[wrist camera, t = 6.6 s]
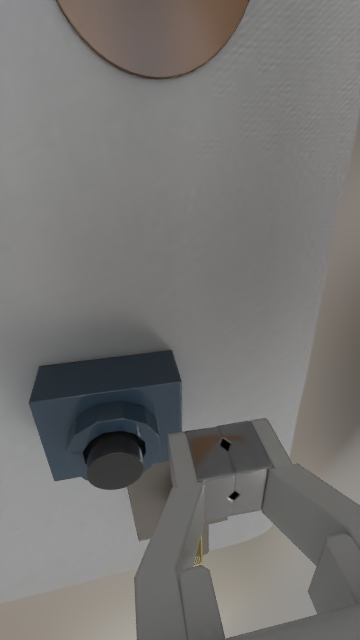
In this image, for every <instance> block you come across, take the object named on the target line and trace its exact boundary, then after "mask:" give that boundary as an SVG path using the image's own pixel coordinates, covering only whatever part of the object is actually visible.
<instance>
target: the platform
mask: <svg viewBox="0 0 360 640" xmlns="http://www.w3.org/2000/svg"><path fill="white" fill-rule="evenodd" d="M127 487H128V492H129V497H130V501H131V506H132V511H133V515H134V520H135V525H136V529H137V534H138V539H139V541H141V540H145V539H150V538H151V537H152V534H153V532H154V530H155V527H156V525H157V523H158V520H159V518H160V515H161V513H162V511H163V508H164V506H165V503H166V501H167V499H168V496H169V494H170V491H171V489H172V487H173V485H172V479H171V472H170V463H169V461H166V462H161V463H155V464H153V465H152V466H151V468H149V469H148V470H146V471H144V472H143V473H142V475H141V477H140V478H139V479H138V480H137V481H136V482H134V483H133V484H131V485H129V486H127ZM225 520H227V517H223V518H219V519H215V520H211V521H207V522H204V527H203V530H202V534H201V538H200V542H199V545H198V549H197V553H196V557H197V556H200V561H201V563H200V562H199V563H198V562H197V564H194V565H198V564H202V563H203V559H202V555H204V554H207V553H208V552H209V543H208V524H212V523H216V522H221V521H225ZM196 559H197V558H196ZM198 559H199V558H198ZM194 565H193V566H194Z"/></svg>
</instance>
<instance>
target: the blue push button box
mask: <svg viewBox="0 0 360 640" xmlns="http://www.w3.org/2000/svg"><path fill="white" fill-rule="evenodd" d="M29 405H30V408H31V411H32V414H33V417H34V420H35V423H36V426H37V429H38V433H39V436H40V439H41V442H42V445H43V448H44V451H45V454H46V457H47V460H48V463H49V466H50V469H51V472H52V475H53V479H54V481H60V480H65V479H71V478H76V477H82V478H84V479H85V480H88V479H87V475H86V472H87V456H88V447H89V445H90V443H91V441H92V440H93V439H94V438H96V437H98V436H99V435H101V434H103V433H108V432H114V431H125V432H129V433H133V434H135V435H136V436H137V437H138V438H139V440H140V441H141V446H142V455H143V464H144V470H143V472H144V471H146V470H148V469H149V468H151V466H152V465H153V464H155V463H161V462H166V461H169V451H168V434H172V433H178V432H182V382H181V378H180V375H179V372H178V368H177V365H176V362H175V359H174V355H173V352H172V351H165V352H156V353H148V354H140V355H132V356H123V357H115V358H107V359H99V360H90V361H82V362H74V363H65V364H57V365H49V366H41V367H39V369H38V373H37V376H36V380H35V383H34V386H33V390H32V393H31V397H30V400H29Z"/></svg>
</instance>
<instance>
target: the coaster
mask: <svg viewBox="0 0 360 640" xmlns="http://www.w3.org/2000/svg"><path fill="white" fill-rule="evenodd" d="M56 1H57V3H58V5H59V7H60V9H61V10H62V12H63V14H64V15H65V17H66V18H67V20H68V21H69V23H70V25H71V26H72V27H73V29H74V30H75V31H76V32H77V34H78V35H79V36H80V37H81V39H82V40H83V41H84V42H85V43H86V44H87V45H88V46H89V47H90V48H91V49H92V50H93V51H94V52H95V53H96V54H98V55H99V56H100V57H101V58H103V59H104V60H105V61H106V62H108V63H110V64H111V65H113V66H115V67H116V68H118V69H120V70H122V71H125V72H127V73H129V74H132V75H135V76H139V77H143V78H150V79H169V78H173V77H178V76H182V75H184V74H187V73H189V72H192V71H194V70H195V69H197V68H199V67H200V66H202V65H204V64H205V63H206V62H207V61H209V60H210V59H211V58H212V57H213V56H215V55H216V54H217V53H218V52H219V51H220V50H221V48H222V47H223V46H224V45H225V44H226V43H227V41H228V40H229V39H230V37H231V36H232V34H233V33H234V32H235V30H236V28H237V26H238V24H239V23H240V21H241V19H242V17H243V15H244V13H245V10H246V8H247V5H248V3H249V0H56Z"/></svg>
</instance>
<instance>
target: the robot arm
mask: <svg viewBox="0 0 360 640" xmlns="http://www.w3.org/2000/svg"><path fill="white" fill-rule="evenodd" d="M168 451H169V463H170V472H171V479H172V485H173V487H172V489H171V491H170V494H169V496H168V499H167V501H166V503H165V506H164V508H163V511H162V513H161V515H160V518H159V520H158V523H157V525H156V527H155V530H154V532H153V534H152V537H151V539H150V542H149V544H148V546H147V549H146V551H145V554H144V556H143V558H142V561H141V563H140V566H139V568H138V571H137V573H136V575H135V578H134V583H135V605H136V629H137V640H360V505H358V504H357V503H355V502H354V501H352V500H351V499H349V498H348V497H346V496H345V495H343V494H342V493H340V492H339V491H338V490H336V489H334V488H333V487H332V486H330V485H329V484H327V483H326V482H324V481H323V480H321V479H320V478H318V477H317V476H315V475H314V474H313V473H311V472H310V471H308V470H307V469H305V468H304V467H302V466H300V465H299V464H292V462H291V460H290V458H289V457H288V455H287V453H286V451H285V450H284V448H283V446H282V444H281V442H280V441H279V439H278V437H277V435H276V434H275V432H274V430H273V428H272V426H271V425H270V423H269V421H268V420H267V419H266V418H262V419H257V420H251V421H243V422H238V423H232V424H227V425H221V426H217V427H212V428H205V429H198V430H191V431H185V432H178V433H172V434H168ZM260 510H262V512H263V513H264V514H265V515H266V516H267V517H268V518H269V519H270V520H271V521H272V522H273V523H274V524H275V525H276V526H277V527H278V528H279V529H280V530H281V531H282V532H283V533H284V534H285V535H286V536H287V537H288V538H289V539H290V540H291V541H292V542H293V543H294V544H295V545H296V546H297V547H298V548H299V549H300V550H301V551H302V552H303V553H304V554H305V555H306V556H307V557H308V558H309V559H310V560H311V561H312V562H313V563H314V564H315V565H316V566H317V567H316V570H315V573H314V575H313V578H312V581H311V584H310V587H309V590H308V593H309V595H310V598H311V600H312V602H313V605H314V607H315V610H316V612H317V615H314V616H310V617H306V618H302V619H298V620H294V621H291V622H287V623H283V624H279V625H275V626H272V627H268V628H264V629H260V630H257V631H253V632H249V633H246V634H241V635H238V636H234V637H230V638H226V639H225V635H224V631H223V627H222V622H221V618H220V614H219V609H218V605H217V601H216V596H215V592H214V588H213V584H212V579H211V575H210V571H209V570H208V569H207V568H205V567H204V566H202V565H199V566H195V567H193V564H194V560H195V557H196V553H197V549H198V545H199V542H200V538H201V534H202V530H203V527H204V522H207V521H211V520H215V519H219V518H223V517H228V516H232V515H237V514H243V513H248V512H254V511H260Z"/></svg>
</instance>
